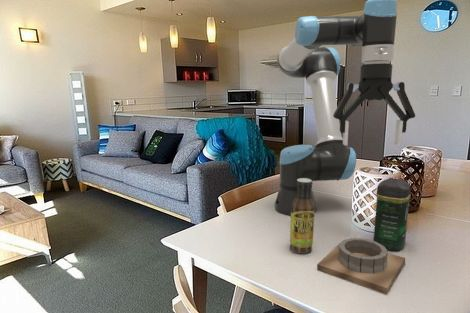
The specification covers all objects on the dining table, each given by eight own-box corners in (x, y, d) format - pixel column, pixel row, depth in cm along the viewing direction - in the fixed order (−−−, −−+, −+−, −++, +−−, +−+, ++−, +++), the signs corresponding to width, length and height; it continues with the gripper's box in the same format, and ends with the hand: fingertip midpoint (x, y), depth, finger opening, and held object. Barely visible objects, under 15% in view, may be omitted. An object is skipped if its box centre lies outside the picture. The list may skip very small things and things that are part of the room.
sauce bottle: (292, 255, 86) (293, 183, 82) (287, 244, 92) (288, 177, 88) (316, 254, 86) (318, 182, 83) (310, 243, 93) (311, 176, 89)
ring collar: (317, 269, 79) (317, 250, 78) (342, 245, 91) (343, 228, 90) (386, 294, 69) (388, 273, 68) (405, 263, 81) (406, 244, 80)
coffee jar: (402, 254, 86) (407, 186, 82) (370, 246, 90) (374, 182, 86) (407, 240, 93) (413, 178, 90) (378, 234, 98) (382, 174, 94)
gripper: (328, 64, 82) (325, 146, 86) (435, 60, 78) (426, 147, 83) (324, 65, 89) (322, 142, 93) (422, 62, 85) (414, 142, 90)
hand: (371, 144), depth 88 cm, fingers open, 13 cm apart
